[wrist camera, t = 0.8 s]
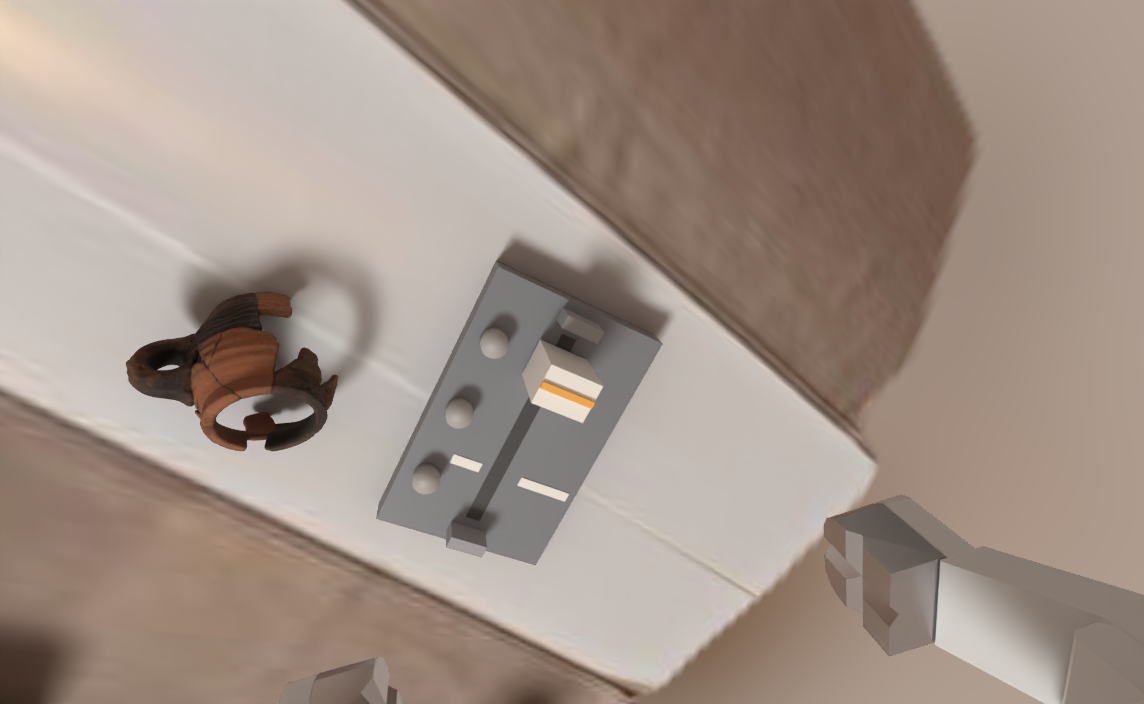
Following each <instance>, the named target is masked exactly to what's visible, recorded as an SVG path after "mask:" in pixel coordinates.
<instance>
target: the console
mask: <svg viewBox="0 0 1144 704" xmlns="http://www.w3.org/2000/svg"><path fill="white" fill-rule="evenodd" d="M540 340H543V341H545V342H547V343H550V344H552V345H554V346H556V347H559V348H561V349H563V350H566V351H568V352H570V353H572V354H575V355H577V356H579V357H582V358H584V359H586V360H587V361H588V362H589V364H590V366H591V367H592V369H593V370H594V372H595V374H596V375H597V377H598V378H599V380H600V382H601V383H602V385H603V388H602V390H601V391H600V393H599V395H598V397H597V399H596V400H595V405H594V406H593V408H592V409H590V411H589V413H588V415H587V417H586V418H585V420H584V422H583V423H581V422H578V421H576V420H573V419H571V418H568V417H566V416H563V415H561V414H558V413H556V412H553V411H550V410H548V409H545V408H543V407H540V406H538V405H535V404H533V403H531V401H530V398H529V395H528V391H527V388H526V385H525V382H524V379H523V376H522V373H523V371H524V369H525V368H526V366H527V364H528V362H529V360H530V358H531V356H532V354H533V352H534V350H535V348H536V346H537V344H538V343H539V341H540ZM661 346H662V343H661V342H660V341H659V340H658V339H657V338H656V337H655V336H654V335H652V334H650V333H648V332H646V331H644V330H642V329H639V328H637V327H635V326H633V325H631V324H629V323H627V322H625V321H622V320H620V319H618V318H616V317H614V316H612V315H610V314H608V313H606V312H603V311H601V310H599V309H597V308H595V307H593V306H591V305H589V304H586V303H584V302H582V301H580V300H578V299H576V298H574V297H572V296H569V295H567V294H565V293H563V292H561V291H559V290H557V289H555V288H552V287H550V286H548V285H546V284H544V283H542V282H540V281H538V280H536V279H533V278H531V277H529V276H527V275H525V274H523V273H521V272H519V271H516V270H514V269H512V268H510V267H508V266H506V265H504V264H502V263H499V262H497V261H496V262H495V264H494V266H493V269H492V271H491V273H490V275H489V277H488V279H487V281H486V283H485V285H484V287H483V289H482V291H481V293H480V295H479V298H478V300H477V302H476V304H475V306H474V308H473V310H472V312H471V314H470V316H469V318H468V320H467V322H466V324H465V326H464V329H463V331H462V333H461V335H460V337H459V339H458V341H457V343H456V345H455V347H454V349H453V351H452V353H451V355H450V358H449V360H448V362H447V364H446V366H445V368H444V370H443V372H442V374H441V376H440V378H439V380H438V382H437V384H436V386H435V389H434V391H433V393H432V395H431V397H430V399H429V401H428V403H427V405H426V407H425V409H424V411H423V413H422V415H421V418H420V420H419V422H418V424H417V426H416V428H415V430H414V432H413V434H412V436H411V438H410V440H409V442H408V444H407V446H406V449H405V451H404V453H403V455H402V457H401V459H400V461H399V463H398V465H397V467H396V469H395V471H394V473H393V475H392V478H391V480H390V482H389V484H388V486H387V488H386V490H385V492H384V494H383V496H382V498H381V500H380V502H379V506H378V511H377V517H376V519H379V520H382V521H386V522H389V523H393V524H396V525H400V526H403V527H406V528H410V529H413V530H417V531H420V532H423V533H427V534H430V535H434V536H437V537H441V538H444V539H446V547H447V548H450V549H454V550H457V551H461V552H464V553H468V554H471V555H475V556H478V557H482V556H483V554H484V552H485V551H488V552H492V553H495V554H499V555H502V556H506V557H509V558H512V559H516V560H519V561H523V562H526V563H530V564H533V565H536V564H537V562H538V560H539V558H540V557H541V555H542V553H543V551H544V550H545V548H546V546H547V544H548V543H549V541H550V539H551V537H552V536H553V534H554V532H555V530H556V529H557V527H558V525H559V523H560V522H561V520H562V518H563V517H564V515H565V513H566V511H567V510H568V508H569V506H570V504H571V503H572V501H573V499H574V497H575V496H576V494H577V492H578V490H579V489H580V487H581V485H582V483H583V482H584V480H585V478H586V476H587V475H588V473H589V471H590V469H591V468H592V466H593V464H594V462H595V461H596V459H597V457H598V456H599V454H600V452H601V450H602V449H603V447H604V445H605V443H606V442H607V440H608V438H609V436H610V435H611V433H612V431H613V429H614V428H615V426H616V424H617V422H618V421H619V419H620V417H621V415H622V414H623V412H624V410H625V408H626V407H627V405H628V403H629V402H630V400H631V398H632V396H633V395H634V393H635V391H636V389H637V388H638V386H639V384H640V382H641V381H642V379H643V377H644V375H645V374H646V372H647V370H648V368H649V367H650V365H651V363H652V361H653V360H654V358H655V356H656V354H657V353H658V351H659V349H660V347H661Z"/></svg>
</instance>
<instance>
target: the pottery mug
mask: <svg viewBox="0 0 1144 704" xmlns="http://www.w3.org/2000/svg"><path fill="white" fill-rule="evenodd" d="M260 315H270V316H279V317H285V318H289V317H290V316H291V315H292V308H291V307H290V299H289V298H288V297H287V296H284V295H280V294H274V293H249V294H244V295H238V296H235V297H233V298H231V299H228V300H226V301H224V302H222V303H221V304H219V305H218V306H217V307H216V308H215V310H214V311H213V312H212V313H211V314H210V316H209V318H208V319H207V320H206V321H205V323H204V324H203V325H202V326H201V327H200V329H199V330H198V331H197V332H196V334H191V335H189V336H186V337H182V338H176V339H166V340H161V341H157V342H153V343H150V344H147V345H145V346H143V347H141V348H140V349H139V350H137V351H136V352H135V354H134V355H133V356H132V357H131V358H130V360H128V361H127V362H126V366H127V374H128V377H129V382H130V384H131V385H132V386H133V387H134V388H135V389H137V390H138V391H140V392H141V393H143V394H145V395H148V396H151V397H156V398H165V399H172V400H177V401H180V402H182V403H184V404H185V405H186V406H193V405H194V404H195V407H196V408H197V409H198V410H196V411H195V413H196V415H197V416H198V417H199V418H200V419H201V421H200V425H201V428H202V430H203V432H204V434H205V435H206V436H207V437H208V438H209V439H210V440H211V441H212V442H214V443H216V444H218V445H220V446H222V447H225V448H228V449H232V450H236V451H245V449H246V448H247V440H253V441H255V440H266V444H265V449H266V450H270V451H278V450H283V449H287V448H290V447H293V446H296V445H298V444H301V443H303V442H305V441H307V440H308V439H310V438H311V437H313V436H314V435H315V433H317V432H319V430H321V429H322V427H323V425H324V424H325V422H326V420H327V410H328V409H329V407H330V406H331V404H332V401H333V397H334V393H335V389H336V386H337V378H338V376H337V375H333V376H332V377H331V378H330V379H329V380H328V381H327V382H325V383H324V384H322V385H320V383H321V380H322V378H321V370H320V368H319V366H318V358H317V356H316V354H314V353H313V352H312V351H310V350H309V349H307V348H302V349H301V350H300V352H299V355H298V358H297V359H295V360H293V361H292V362H291V363H290V364H288V365H287V366H286V367H284V368H281V369H280V370H278V371H274V368H275V361H276V356H277V351H278V348H279V343H278V342H277V339H276V338H275V337H274V335H273V334H271V333H267V332H264V331H262V325H261V323H260V320H259V316H260ZM167 365H178V366H180V367H178V368H176V369H172V370H158V369H159V368H162V367H164V366H167ZM268 394H278V395H286V396H292V397H295V398H298V399H300V400H302V401H305V402H306V403H308V404H309V405H310V406H311V407H312V408H313V409H314V413H313V414H312V415H310V416H309V417H307V418H305V419H303V420H301V421H297V422H292V423H280V424H275V423H274V420H273V419H272V418H271V417H270V415H269V414H268V413H256V414H253V415H249V416H246V417H245V418H244V421H243V424H244V426H245V428H246V431H240V430H235V429H231V428H228V427H225V426H222V425H220V424H218V423H217V422H216V417H217V415H218V414H219V413H220V412H221V411H222V410H223V409H224V408H225V407H227V406H229V405H230V404H232V403H234V402H236V401H239V400H240V399H243V398H248V397H252V396H258V395H268Z"/></svg>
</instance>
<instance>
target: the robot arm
mask: <svg viewBox="0 0 1144 704" xmlns="http://www.w3.org/2000/svg"><path fill="white" fill-rule="evenodd" d="M824 537H825V538H826V539H827V540H828V541H829V542H830V543H831V546H830V547H829V549H828V551H827V552H826V554H825V566H826V572H827V575H828V577H829V580H830V583H831V585H832V587H833V589H834V590H835V592H836V594H837V595H838V597H839V598H840V599H841V600H842V602H843V603H844V604H845V605H846V607H848V608H851V609H853V610H855V611H857V612H860V613H862V614H863V627H864V628H865V629H866V630H867V631H868V632H869V634H870V635H871V636H872V637H873V638H874V639H875V641H876V642H877V643H878V644H879V645H880V646H881V648H882V649H883V650H884V651H885V652H886V653H887V655H888V656H892V655H895V654H898V653H902V652H904V651H908V650H911V649H915V648H918V647H921V646H924V645H928V644H931V643H934V642H935V645H936V646H938V647H940V648H942V649H943V650H945V651H947V652H949V653H951V654H953V655H955V656H957V657H958V658H960V659H962V660H964V661H966V662H968V663H970V664H972V665H974V666H975V667H977V668H979V669H981V670H983V671H985V672H987V673H989V674H990V675H992V676H994V677H996V678H998V679H1000V680H1002V681H1004V682H1005V683H1007V684H1009V685H1011V686H1013V687H1015V688H1017V689H1018V690H1020V691H1022V692H1024V693H1026V694H1028V695H1030V696H1032V697H1033V698H1035V699H1037V700H1039V701H1041V702H1043V703H1045V704H1144V595H1142V594H1139V593H1135V592H1132V591H1129V590H1126V589H1122V588H1119V587H1116V586H1113V585H1109V584H1106V583H1103V582H1099V581H1096V580H1093V579H1089V578H1086V577H1083V576H1080V575H1076V574H1073V573H1070V572H1066V571H1063V570H1060V569H1056V568H1053V567H1050V566H1047V565H1043V564H1040V563H1037V562H1033V561H1030V560H1027V559H1023V558H1020V557H1017V556H1014V555H1010V554H1007V553H1004V552H1000V551H997V550H994V549H991V548H987V547H984V546H983V547H979V548H976V549H975V548H974V547H973V546H971V545H970V544H969V543H968V542H966V541H965V540H964V539H962V538H961V537H960V536H958V535H957V534H956V533H955V532H953V531H952V530H951V529H950V528H948V527H947V526H946V525H944V524H943V523H942V522H940V521H939V520H938V519H937V518H935V517H934V516H933V515H932V514H930V513H929V512H927V511H926V510H925V509H924V508H923V507H921V506H920V505H919V504H917V503H916V502H915V501H914V500H912V499H911V498H910V497H908V496H905V495H898V496H895V497H892V498H889V499H885V500H882V501H879V502H877V503H875V504H870V505H867V506H864V507H861V508H858V509H855V510H851V511H848V512H845V513H842V514H839V515H836V516H833V517H830V518H827V519H826V521H825V523H824ZM388 681H389V670H388V668H387V666H386V664H385V662H384V660H383V658H381V657H376V658H372V659H369V660H365V661H361V662H358V663H354V664H351V665H347V666H344V667H340V668H337V669H333V670H329V671H326V672H322V673H319V674H318V675H314V676H311V677H307V678H304V679H300V680H296V681H293V682H289V683H288V684H287V685H286V687H285V688H284V690H283V691H282V693H281V696H280V700H279V703H278V704H402V700H401V698H400V695H399V693H398V691H397V690H396V689H394V688H392V687H390V686H388Z"/></svg>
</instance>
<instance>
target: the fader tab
mask: <svg viewBox="0 0 1144 704" xmlns="http://www.w3.org/2000/svg"><path fill="white" fill-rule="evenodd" d="M522 376H523V379H524V382H525V385H526V388H527V391H528V395H529V398H530V401H531V403H533V404H535V405H538V406H540V407H543V408H545V409H548V410H550V411H553V412H556V413H558V414H561V415H563V416H566V417H568V418H571V419H573V420H576V421H578V422H581V423H583V422H584V420H585V418H586V417H587V415H588V413H589V411H590V409H592V408H593V406H594V405H595V400H596V399H597V397H598V395H599V393H600V391H601V390H602V388H603V385H602V383H601V382H600V380H599V378H598V377H597V375H596V374H595V372H594V370H593V369H592V367H591V366H590V364H589V362H588V361H587V360H586V359H584V358H582V357H579V356H577V355H575V354H572V353H570V352H568V351H566V350H563V349H561V348H559V347H556V346H554V345H552V344H550V343H547V342H545V341H543V340H540V341H539V343H538V344H537V346H536V348H535V350H534V352H533V354H532V356H531V358H530V360H529V362H528V364H527V366H526V368H525V369H524V371H523V373H522Z"/></svg>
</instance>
